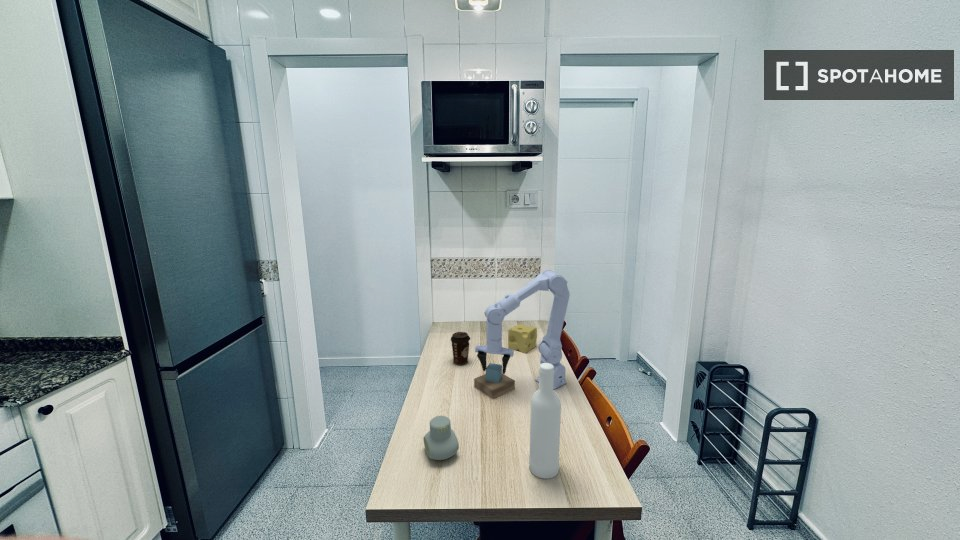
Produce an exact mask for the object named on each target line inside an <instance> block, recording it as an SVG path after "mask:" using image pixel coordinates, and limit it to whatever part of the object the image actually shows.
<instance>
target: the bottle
mask: <svg viewBox="0 0 960 540" xmlns="http://www.w3.org/2000/svg"><path fill="white" fill-rule="evenodd" d="M538 372H539V373H538V375H539V376H538V378H539V382H538V389H537V390H536V391H535V390H534V392H533V393H532V397H531V399H530V416H529V417H530V420H529V421H530V423H529V425H530V427H529V428H530V429H529V457H528V458H529V459H528V461H529V462H528V464H529V470H530V472H531V473H532V474H533V475H534V476H535V477H537V478H540V479H545V480H546V479H552V478H555V477H556V476H557V475H558V472H559V471H560V470H559V469H560V468H559V467H560V443H561V442H560V441H561V439H560V438H561V437H560V436H561V414H562V403H561V399H560V396H559V394H558V393H557V392H556V391H555V389H553V381H554V366H553V365H552V364H550V363H542V364H539V368H538Z"/></svg>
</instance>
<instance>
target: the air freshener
mask: <svg viewBox="0 0 960 540" xmlns="http://www.w3.org/2000/svg"><path fill="white" fill-rule="evenodd" d="M451 423H452V422H451V419H450V418H449V417H447V416H446V415H436V416H434V417H433V418H431V420H430V421H429V431H428V432H426V433H425V435H424V436H423V445H424V448H425V452H426V455H427V457H428V458H430V459H432V460H435V461H442V460H447V459H450V458H451V457H453V456H454V455H455V454H456V453H457V452H458V450H459V448H460V447H459V441H458V437H457V435H456V433H455V431H454V430H453V429H452V428H451V427H452V426H451V425H452V424H451Z"/></svg>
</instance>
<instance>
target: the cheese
mask: <svg viewBox="0 0 960 540" xmlns="http://www.w3.org/2000/svg"><path fill="white" fill-rule="evenodd" d="M537 338H538V330H537V327H536V326H529V325H525V324H521V323H518V324H516V325H514V326H513V327H511V328H508V331H507V346H508V348H507V349H511V350H514V351H519V352H520V353H523V354H527V353H528V352H530V351H531V350H533V349H534V348H536V345H537V341H538V340H537Z"/></svg>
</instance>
